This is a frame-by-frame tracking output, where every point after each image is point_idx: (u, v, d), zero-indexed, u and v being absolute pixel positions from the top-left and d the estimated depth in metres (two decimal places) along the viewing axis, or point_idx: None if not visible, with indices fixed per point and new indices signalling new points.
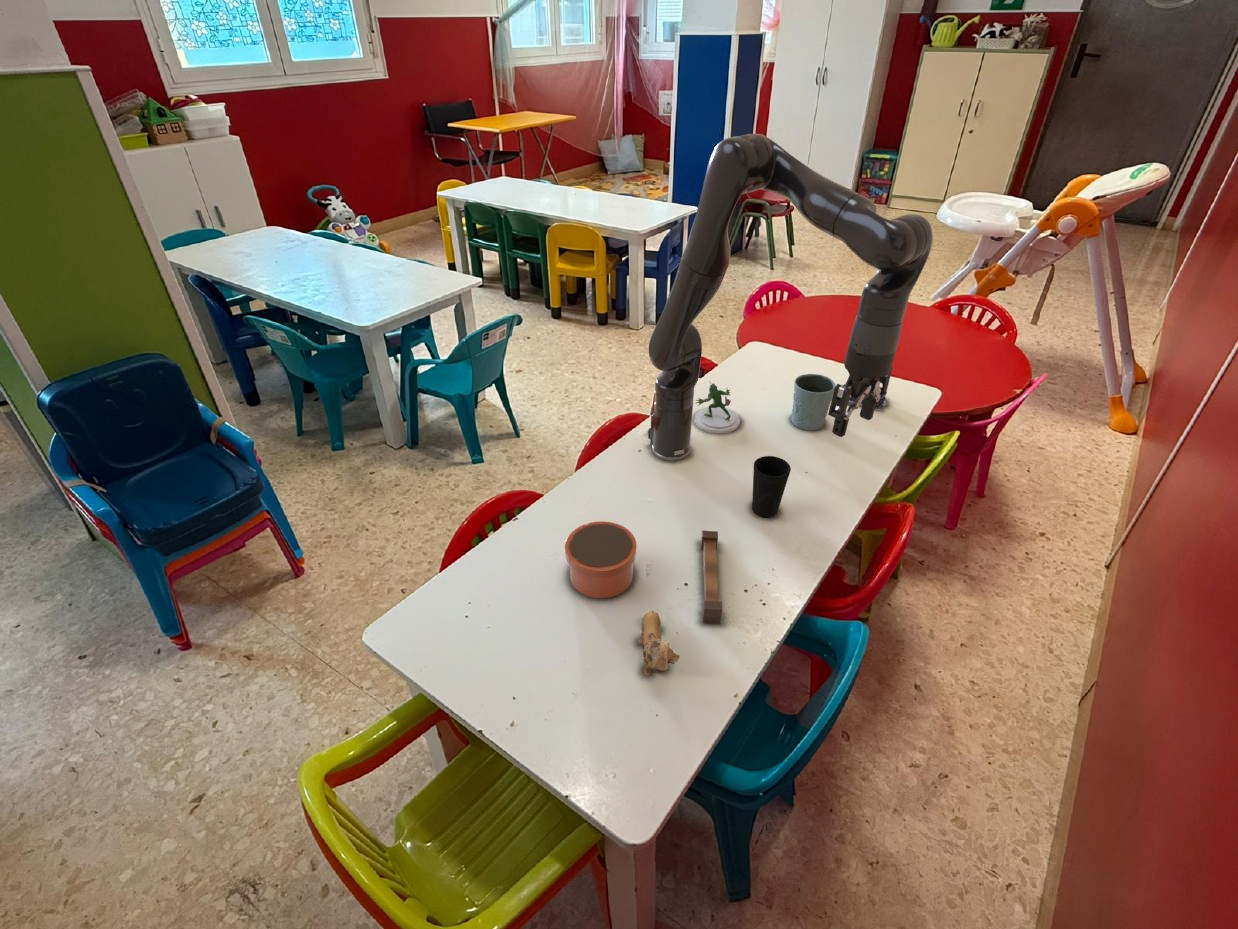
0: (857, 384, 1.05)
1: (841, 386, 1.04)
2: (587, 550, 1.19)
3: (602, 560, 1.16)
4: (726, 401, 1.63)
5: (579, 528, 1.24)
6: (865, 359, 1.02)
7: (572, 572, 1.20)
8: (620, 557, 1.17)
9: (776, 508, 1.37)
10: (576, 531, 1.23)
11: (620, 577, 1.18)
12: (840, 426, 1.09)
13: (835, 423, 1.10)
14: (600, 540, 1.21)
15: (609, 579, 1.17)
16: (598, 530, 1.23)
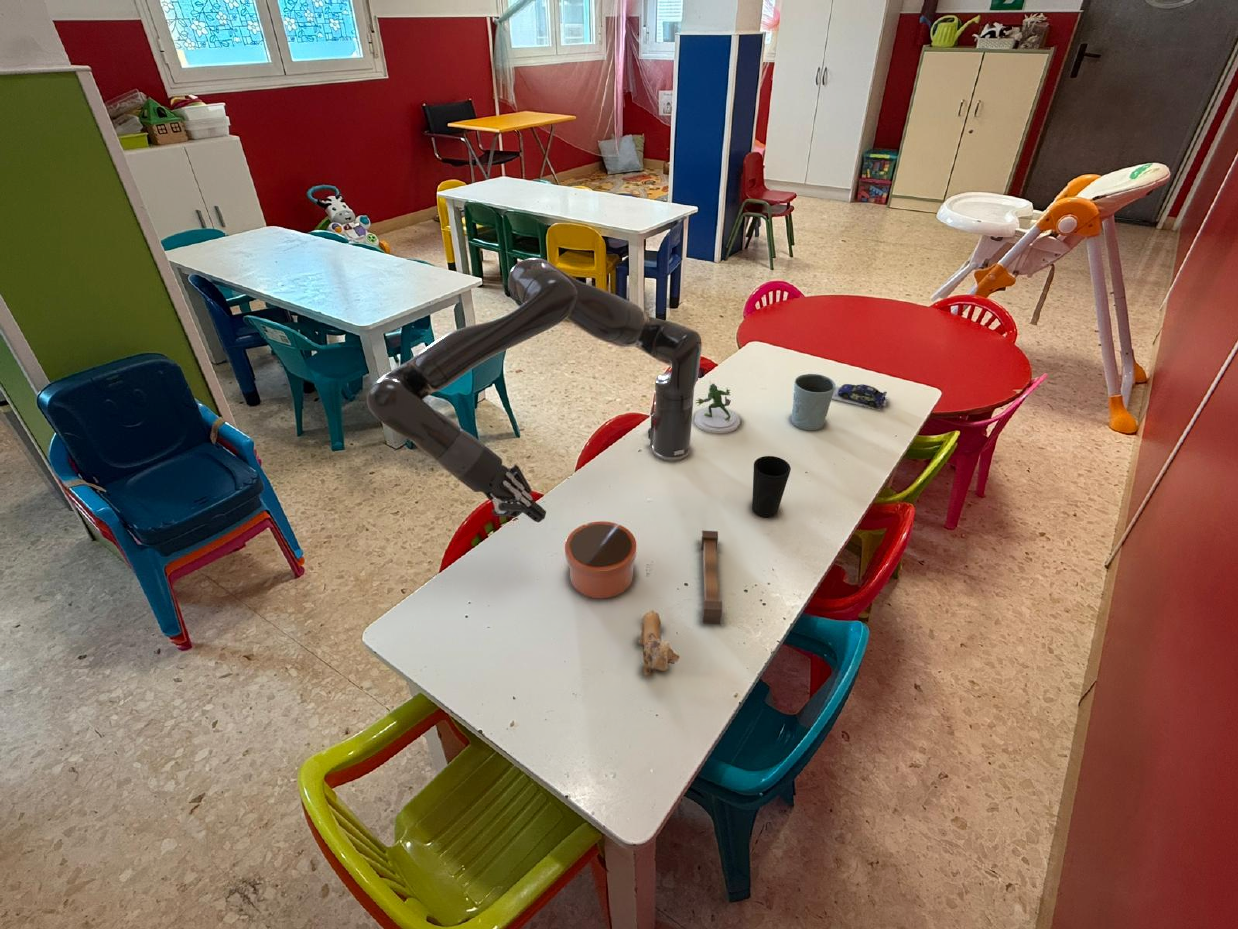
0: None
1: None
2: (587, 550, 1.19)
3: (602, 560, 1.16)
4: (726, 401, 1.63)
5: (579, 528, 1.24)
6: None
7: (572, 572, 1.20)
8: (620, 557, 1.17)
9: (776, 508, 1.37)
10: (576, 531, 1.23)
11: (620, 577, 1.18)
12: None
13: None
14: (600, 540, 1.21)
15: (609, 579, 1.17)
16: (598, 530, 1.23)
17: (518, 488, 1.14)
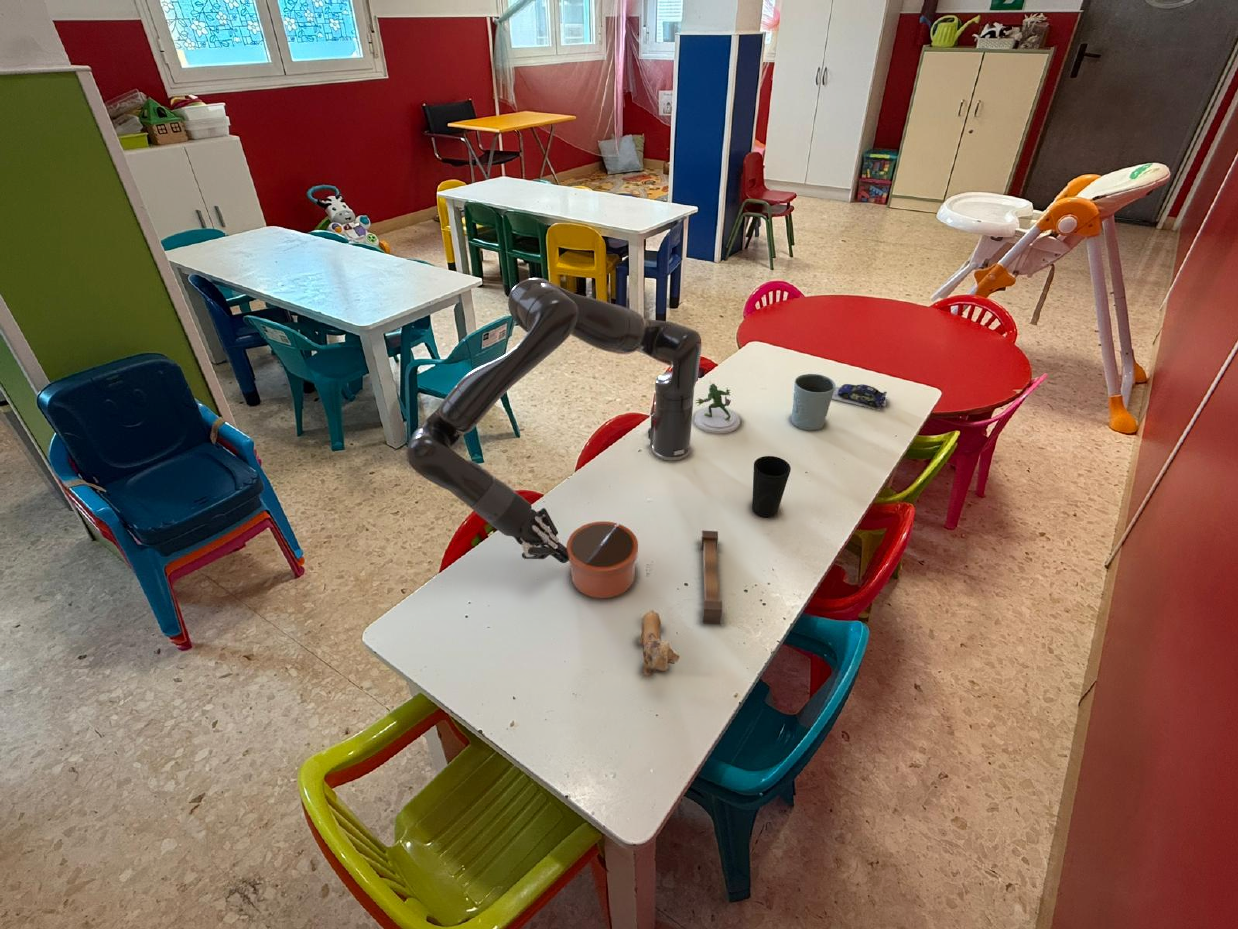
0: None
1: (540, 510, 1.24)
2: (589, 550, 1.19)
3: (604, 560, 1.16)
4: (726, 401, 1.63)
5: (580, 528, 1.24)
6: None
7: (574, 572, 1.20)
8: (622, 557, 1.17)
9: (776, 508, 1.37)
10: (577, 531, 1.23)
11: (622, 577, 1.18)
12: None
13: None
14: (601, 540, 1.21)
15: (611, 579, 1.17)
16: (600, 530, 1.23)
17: (546, 531, 1.20)
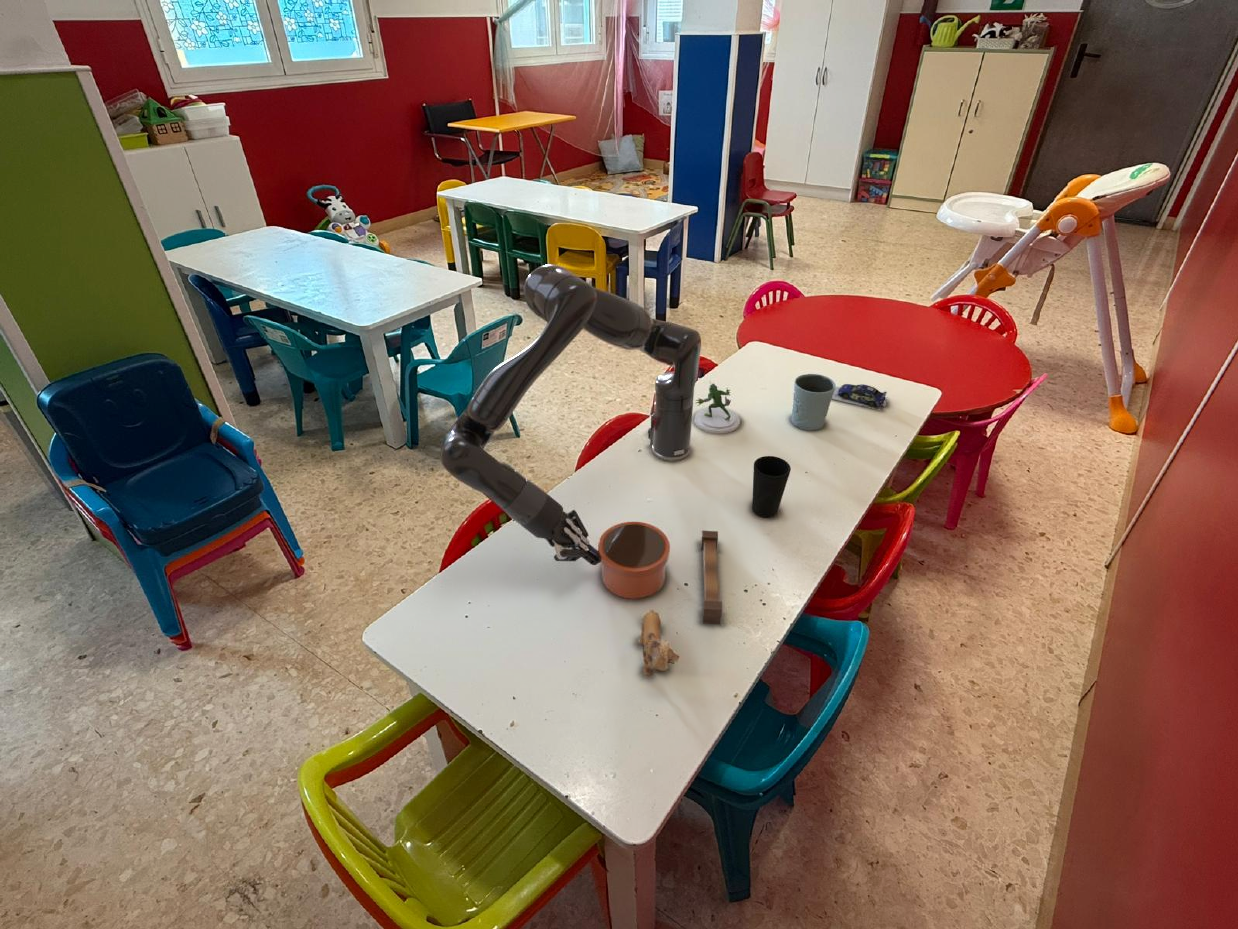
0: None
1: (570, 512, 1.24)
2: (621, 551, 1.18)
3: (638, 560, 1.16)
4: (726, 401, 1.63)
5: (609, 530, 1.23)
6: None
7: (607, 574, 1.19)
8: (656, 556, 1.17)
9: (776, 508, 1.37)
10: (607, 533, 1.22)
11: (656, 576, 1.18)
12: None
13: (591, 547, 1.22)
14: (632, 540, 1.21)
15: (646, 578, 1.17)
16: (629, 531, 1.23)
17: (577, 533, 1.19)
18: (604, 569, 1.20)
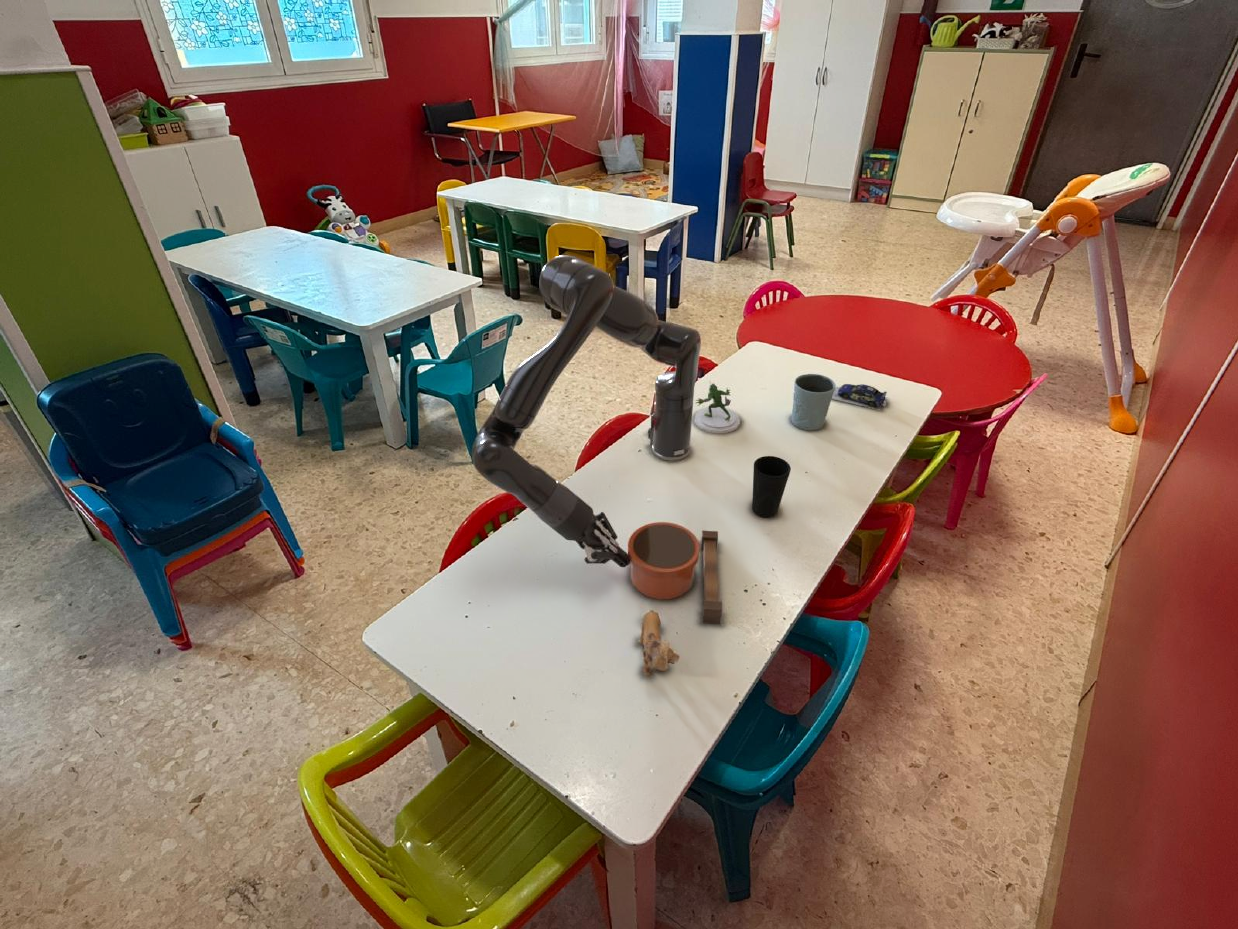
0: None
1: (599, 514, 1.23)
2: (652, 552, 1.18)
3: (670, 560, 1.16)
4: (726, 401, 1.63)
5: (636, 531, 1.23)
6: None
7: (638, 576, 1.19)
8: (687, 555, 1.17)
9: (776, 508, 1.37)
10: (635, 535, 1.22)
11: (688, 575, 1.18)
12: None
13: None
14: (661, 541, 1.21)
15: (679, 578, 1.17)
16: (656, 531, 1.23)
17: (606, 536, 1.19)
18: (635, 571, 1.19)
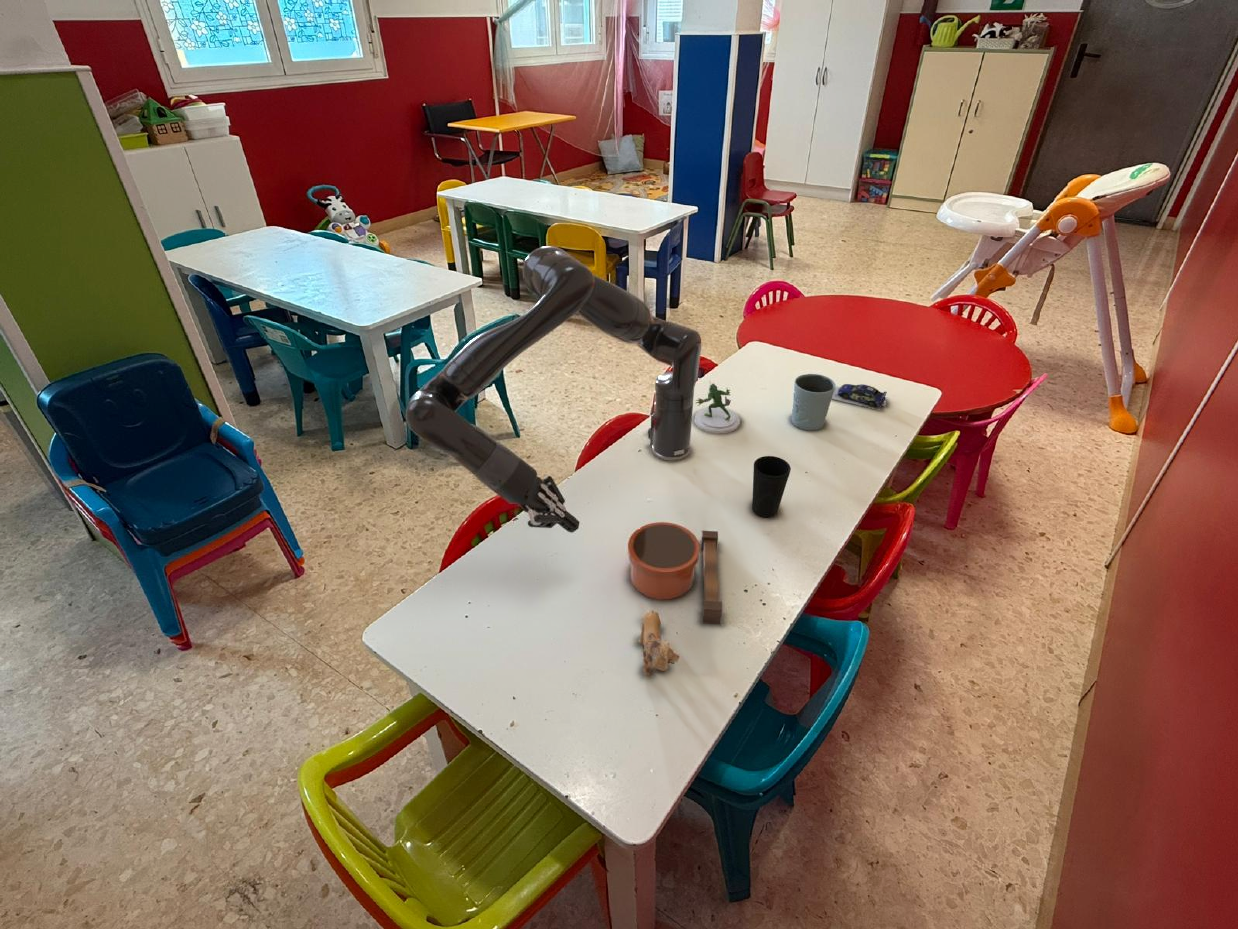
0: None
1: (546, 478, 1.19)
2: (652, 552, 1.18)
3: (670, 560, 1.16)
4: (726, 401, 1.63)
5: (636, 531, 1.23)
6: None
7: (638, 576, 1.19)
8: (687, 555, 1.17)
9: (776, 508, 1.37)
10: (634, 535, 1.22)
11: (688, 575, 1.18)
12: None
13: (568, 513, 1.18)
14: (661, 541, 1.21)
15: (679, 578, 1.17)
16: (656, 531, 1.23)
17: (552, 499, 1.15)
18: (635, 571, 1.19)
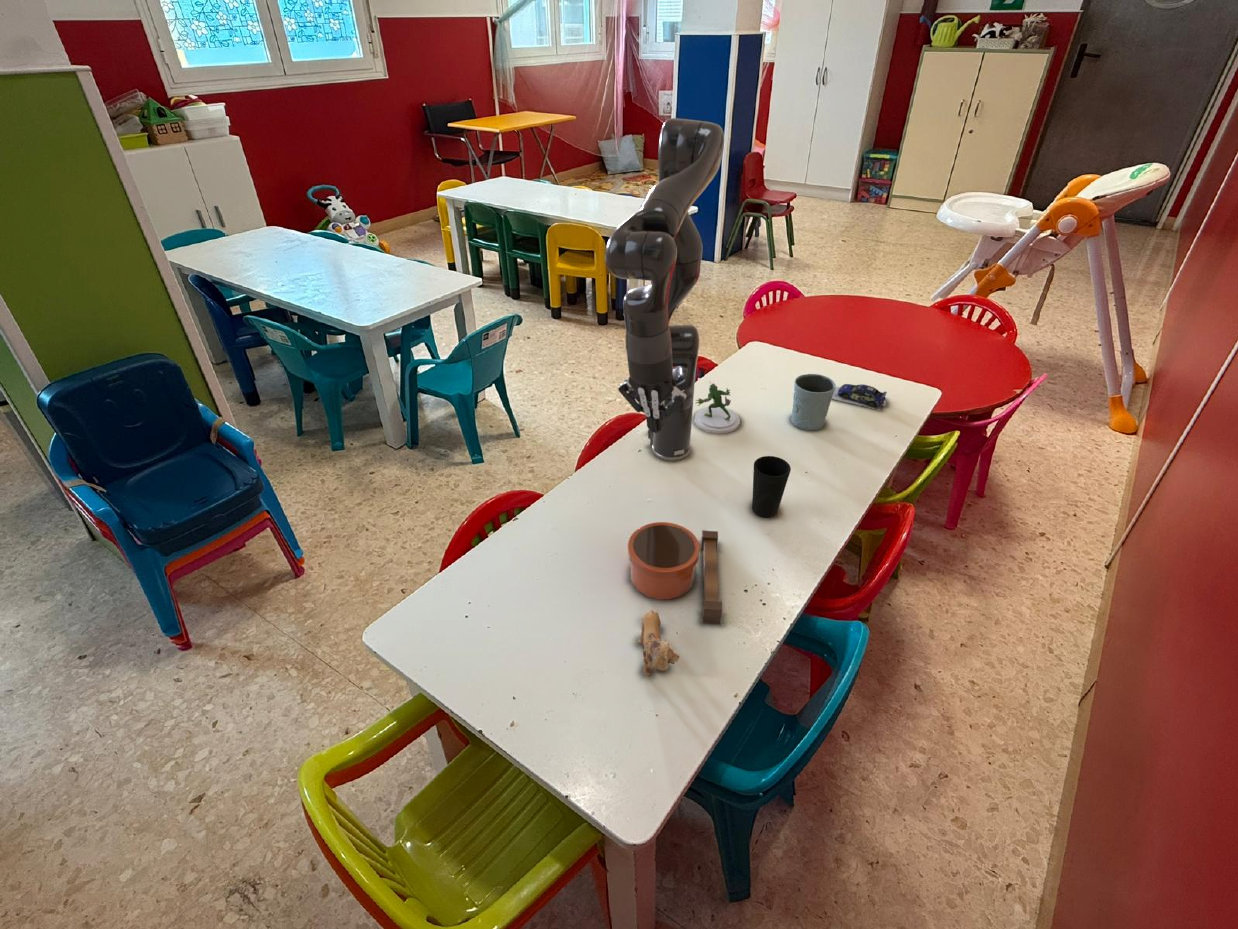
0: (629, 378, 1.10)
1: (622, 383, 1.13)
2: (652, 552, 1.18)
3: (670, 560, 1.16)
4: (726, 401, 1.63)
5: (636, 531, 1.23)
6: None
7: (638, 576, 1.19)
8: (687, 555, 1.17)
9: (776, 508, 1.37)
10: (634, 535, 1.22)
11: (688, 575, 1.18)
12: (647, 420, 1.15)
13: None
14: (661, 541, 1.21)
15: (679, 578, 1.17)
16: (656, 531, 1.23)
17: None
18: (635, 571, 1.19)
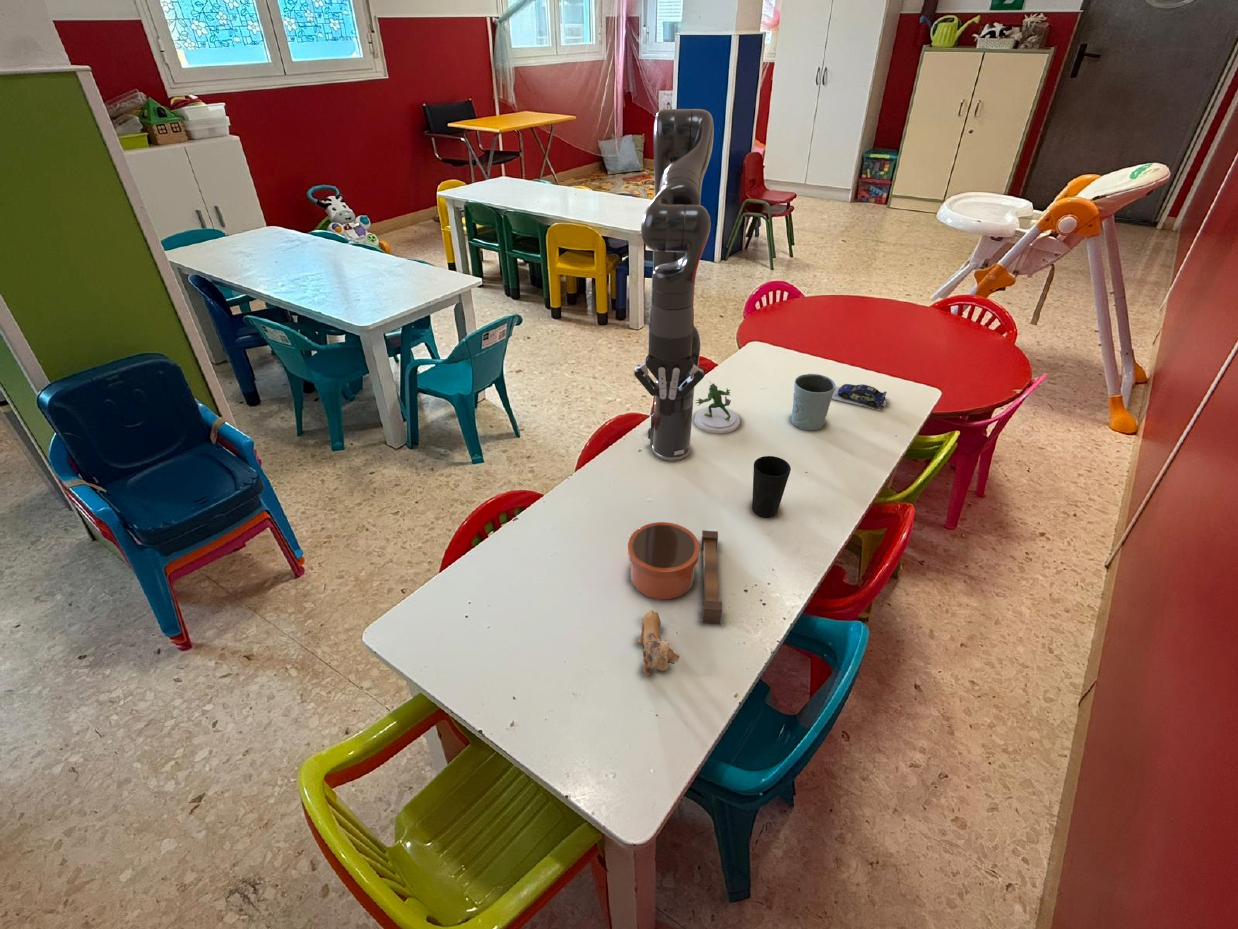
0: (648, 360, 1.11)
1: (635, 368, 1.13)
2: (652, 552, 1.18)
3: (670, 560, 1.16)
4: (726, 401, 1.63)
5: (636, 531, 1.23)
6: (650, 336, 1.08)
7: (638, 576, 1.19)
8: (687, 555, 1.17)
9: (776, 508, 1.37)
10: (634, 535, 1.22)
11: (688, 575, 1.18)
12: (660, 404, 1.16)
13: None
14: (661, 541, 1.21)
15: (679, 578, 1.17)
16: (656, 531, 1.23)
17: None
18: (635, 571, 1.19)
